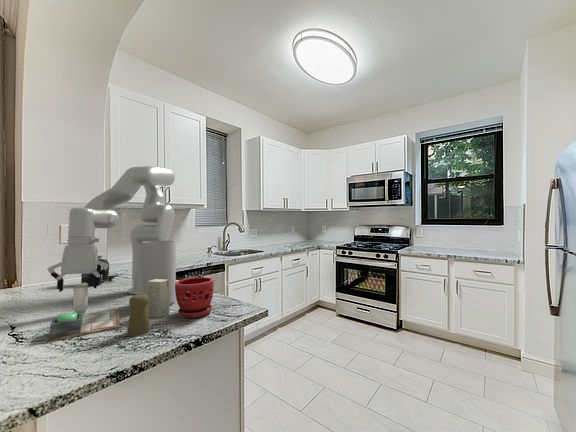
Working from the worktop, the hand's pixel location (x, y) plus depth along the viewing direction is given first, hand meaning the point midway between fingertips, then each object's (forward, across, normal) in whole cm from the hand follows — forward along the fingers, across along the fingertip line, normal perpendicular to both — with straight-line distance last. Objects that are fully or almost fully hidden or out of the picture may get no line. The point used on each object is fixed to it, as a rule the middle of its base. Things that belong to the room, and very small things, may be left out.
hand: (78, 289), depth 93 cm
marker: (+9, -1, -1) cm, 9 cm away
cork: (+9, -17, +30) cm, 36 cm away
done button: (+6, +1, +20) cm, 21 cm away
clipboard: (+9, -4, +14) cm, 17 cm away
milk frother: (+7, -5, -55) cm, 56 cm away
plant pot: (+8, -35, +23) cm, 43 cm away
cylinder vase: (+8, -26, +3) cm, 27 cm away
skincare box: (+9, -24, +17) cm, 31 cm away
